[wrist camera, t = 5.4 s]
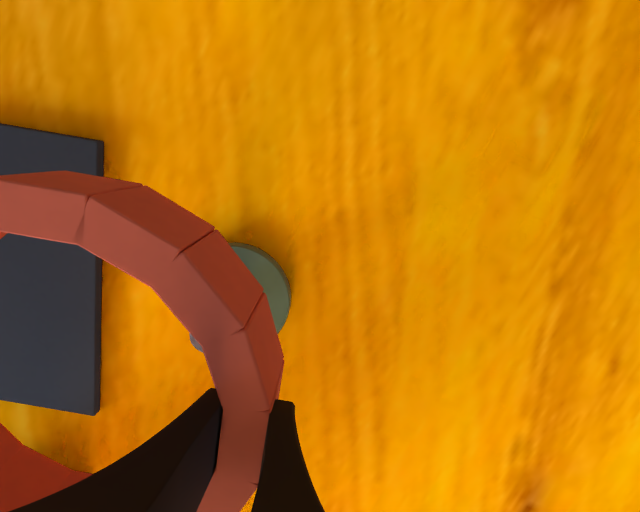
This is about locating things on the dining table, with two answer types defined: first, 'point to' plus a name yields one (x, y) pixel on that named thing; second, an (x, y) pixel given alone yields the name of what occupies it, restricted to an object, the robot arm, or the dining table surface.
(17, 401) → the mat
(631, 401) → the dining table surface
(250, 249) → the post stand
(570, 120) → the dining table surface
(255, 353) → the ring
